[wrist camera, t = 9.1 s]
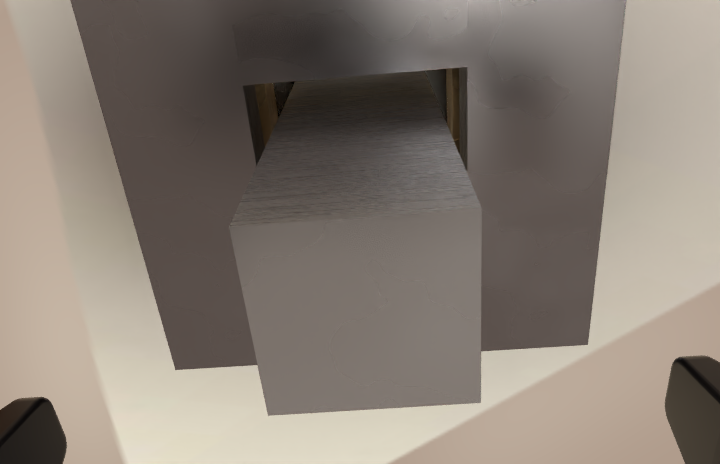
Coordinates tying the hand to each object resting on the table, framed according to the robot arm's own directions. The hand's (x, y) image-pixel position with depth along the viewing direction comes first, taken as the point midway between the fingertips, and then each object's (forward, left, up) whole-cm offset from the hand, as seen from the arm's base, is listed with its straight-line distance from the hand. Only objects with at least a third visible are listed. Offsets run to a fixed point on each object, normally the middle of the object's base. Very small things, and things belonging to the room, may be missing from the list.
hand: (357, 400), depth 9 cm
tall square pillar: (0, 0, -13) cm, 13 cm away
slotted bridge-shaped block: (0, 0, -13) cm, 13 cm away
